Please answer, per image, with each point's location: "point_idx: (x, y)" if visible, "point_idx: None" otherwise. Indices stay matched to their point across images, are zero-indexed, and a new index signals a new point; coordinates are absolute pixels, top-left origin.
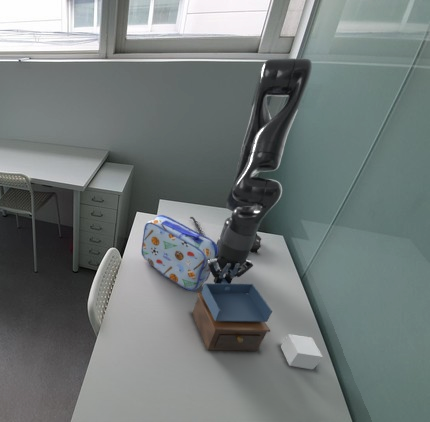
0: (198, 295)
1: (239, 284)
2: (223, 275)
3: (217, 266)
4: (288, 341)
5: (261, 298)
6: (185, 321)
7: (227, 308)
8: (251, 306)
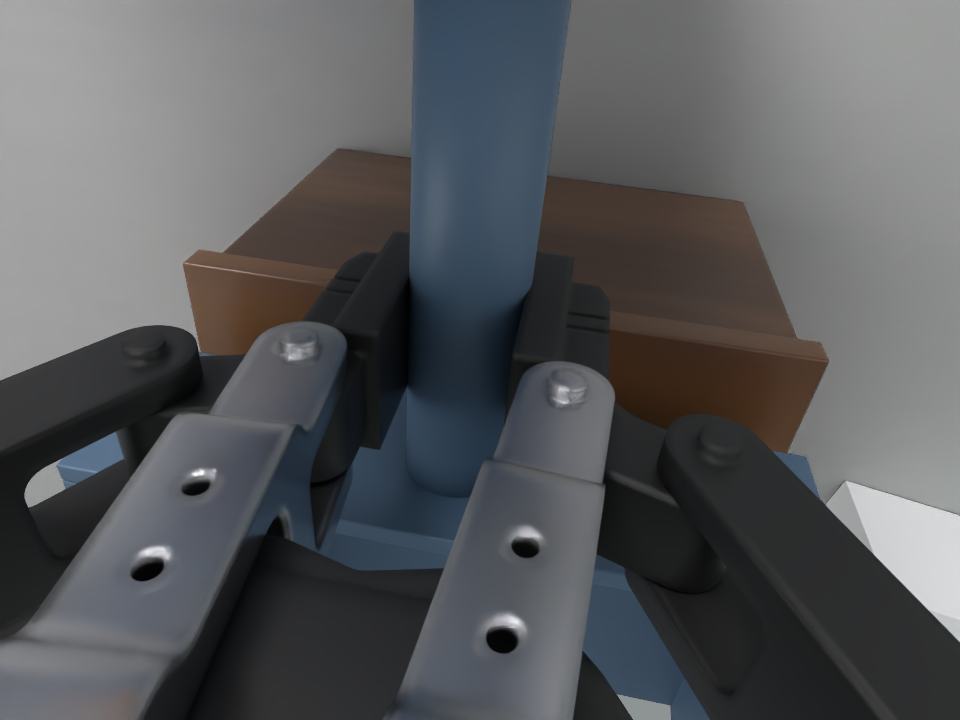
0: (196, 286)
1: (605, 583)
2: (334, 523)
3: (185, 428)
4: None
5: None
6: (263, 210)
7: (389, 560)
8: None
